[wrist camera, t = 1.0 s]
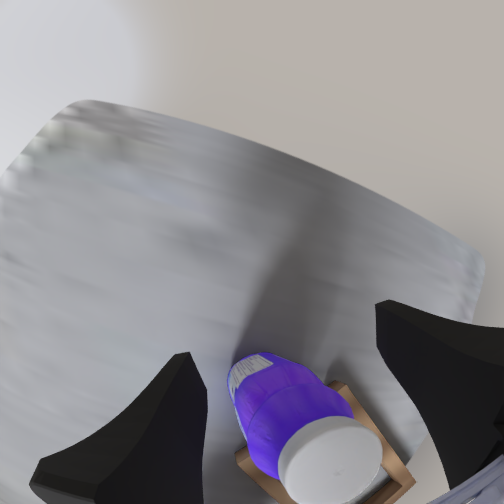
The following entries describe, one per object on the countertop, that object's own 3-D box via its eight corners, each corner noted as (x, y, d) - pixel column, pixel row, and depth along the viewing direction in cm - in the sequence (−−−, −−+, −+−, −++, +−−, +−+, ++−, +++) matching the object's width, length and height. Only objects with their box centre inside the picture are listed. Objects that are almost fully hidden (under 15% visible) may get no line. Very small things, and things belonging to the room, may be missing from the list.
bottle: (216, 364, 24) (226, 435, 8) (273, 340, 26) (375, 360, 9) (247, 430, 23) (299, 550, 6) (301, 405, 24) (413, 486, 8)
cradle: (234, 453, 22) (237, 464, 20) (334, 380, 25) (345, 384, 23) (329, 535, 20) (336, 545, 17) (405, 475, 23) (416, 482, 21)
